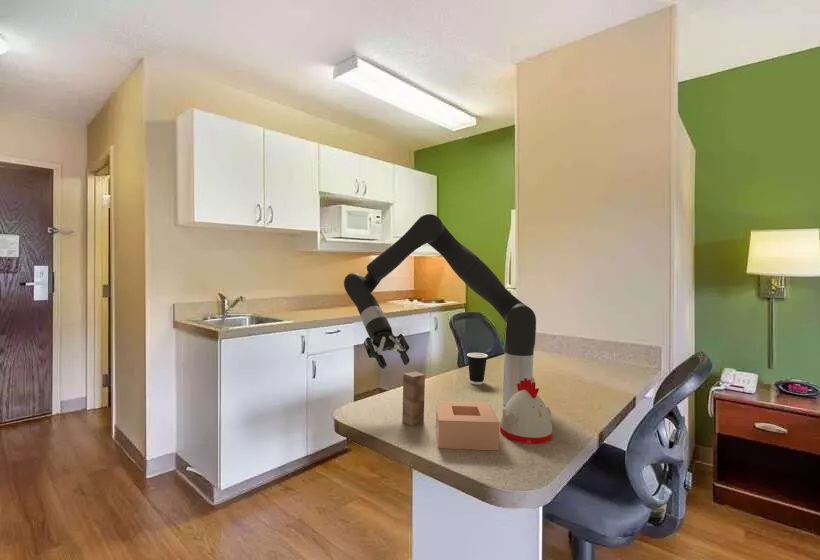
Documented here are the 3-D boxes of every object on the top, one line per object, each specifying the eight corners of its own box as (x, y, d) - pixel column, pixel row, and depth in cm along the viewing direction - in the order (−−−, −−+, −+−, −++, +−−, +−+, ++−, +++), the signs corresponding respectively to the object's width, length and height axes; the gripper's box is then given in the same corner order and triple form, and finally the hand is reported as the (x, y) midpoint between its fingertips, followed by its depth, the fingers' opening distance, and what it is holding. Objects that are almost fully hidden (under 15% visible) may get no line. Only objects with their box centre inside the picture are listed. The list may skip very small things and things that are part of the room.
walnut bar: (414, 418, 123) (415, 371, 123) (423, 423, 120) (425, 374, 119) (402, 421, 120) (403, 373, 120) (411, 426, 117) (413, 377, 116)
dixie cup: (491, 384, 160) (491, 356, 160) (473, 386, 157) (474, 357, 157) (479, 379, 168) (480, 352, 167) (462, 381, 164) (463, 353, 164)
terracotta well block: (488, 426, 118) (489, 402, 118) (498, 450, 103) (499, 422, 103) (435, 424, 118) (436, 400, 118) (438, 448, 103) (438, 420, 103)
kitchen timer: (521, 447, 105) (523, 388, 105) (489, 427, 118) (491, 374, 117) (563, 439, 111) (565, 383, 110) (529, 421, 123) (531, 370, 123)
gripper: (361, 317, 128) (382, 361, 120) (398, 314, 137) (420, 355, 129) (352, 332, 133) (371, 375, 124) (388, 328, 142) (409, 369, 133)
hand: (396, 365), depth 126 cm, fingers open, 8 cm apart
